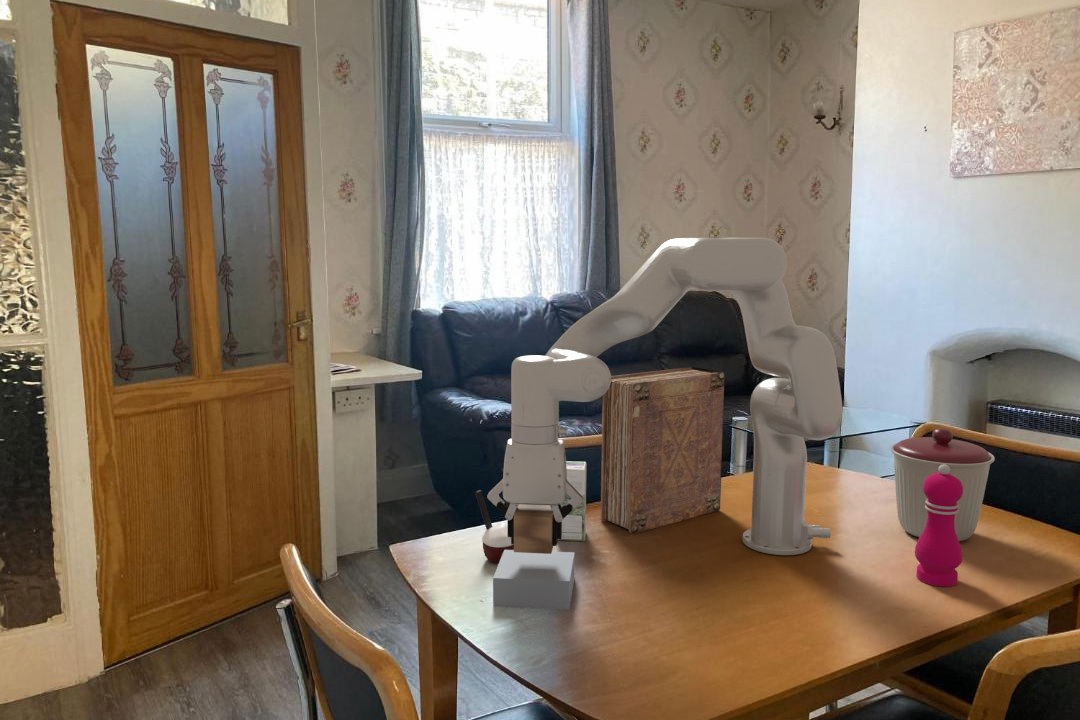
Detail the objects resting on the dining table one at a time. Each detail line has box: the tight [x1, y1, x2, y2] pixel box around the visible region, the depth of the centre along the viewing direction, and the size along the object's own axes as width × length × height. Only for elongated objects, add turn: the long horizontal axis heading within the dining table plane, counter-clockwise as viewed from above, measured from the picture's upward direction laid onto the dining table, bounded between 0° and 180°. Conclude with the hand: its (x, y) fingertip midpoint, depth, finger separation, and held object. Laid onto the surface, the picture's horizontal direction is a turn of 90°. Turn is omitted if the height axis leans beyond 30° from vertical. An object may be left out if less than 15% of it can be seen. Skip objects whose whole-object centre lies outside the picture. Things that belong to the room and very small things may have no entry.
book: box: [600, 366, 725, 535], centre depth 168 cm, size 25×9×30 cm, turn 124°
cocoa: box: [475, 489, 514, 565], centre depth 146 cm, size 10×6×12 cm, turn 36°
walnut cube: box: [514, 504, 554, 554], centre depth 132 cm, size 6×6×6 cm
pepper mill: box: [914, 464, 963, 588], centre depth 136 cm, size 7×7×20 cm
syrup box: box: [558, 460, 588, 542], centre depth 157 cm, size 6×6×14 cm
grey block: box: [492, 550, 576, 611], centre depth 133 cm, size 12×12×5 cm
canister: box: [889, 427, 996, 542], centre depth 158 cm, size 18×18×21 cm
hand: (534, 541), depth 132 cm, fingers closed on walnut cube, 6 cm apart
